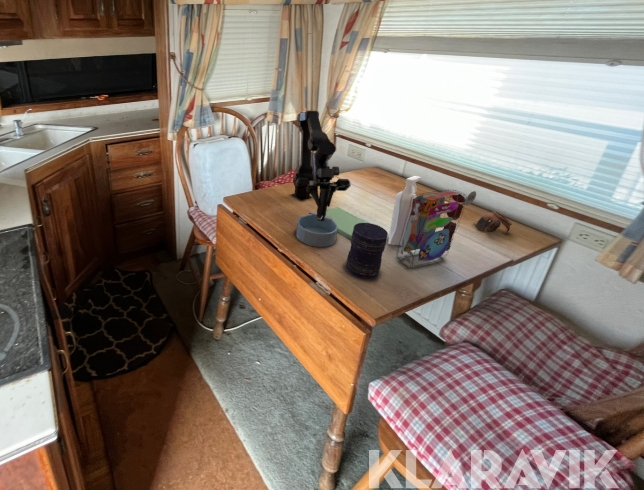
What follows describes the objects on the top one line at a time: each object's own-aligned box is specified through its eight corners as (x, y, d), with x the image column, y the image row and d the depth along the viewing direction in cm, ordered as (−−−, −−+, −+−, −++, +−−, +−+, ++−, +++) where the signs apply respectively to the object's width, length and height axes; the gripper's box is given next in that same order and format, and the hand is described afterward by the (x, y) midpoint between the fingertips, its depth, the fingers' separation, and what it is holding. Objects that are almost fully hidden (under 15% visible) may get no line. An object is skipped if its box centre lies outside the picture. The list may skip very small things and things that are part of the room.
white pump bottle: (378, 243, 130) (392, 180, 121) (394, 232, 137) (409, 172, 127) (396, 251, 125) (413, 187, 116) (413, 240, 132) (430, 178, 122)
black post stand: (303, 216, 134) (307, 185, 129) (319, 211, 138) (323, 180, 132) (322, 227, 127) (327, 194, 121) (338, 221, 130) (344, 189, 125)
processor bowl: (288, 232, 138) (289, 220, 135) (315, 223, 144) (316, 211, 142) (315, 251, 126) (317, 238, 124) (343, 240, 132) (346, 227, 130)
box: (449, 246, 128) (469, 184, 119) (466, 255, 123) (488, 191, 113) (394, 259, 121) (410, 194, 112) (409, 270, 116) (428, 203, 106)
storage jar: (355, 257, 123) (365, 211, 116) (384, 271, 115) (396, 223, 108) (339, 268, 117) (348, 220, 110) (368, 284, 110) (380, 234, 103)
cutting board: (313, 217, 148) (313, 214, 148) (336, 209, 154) (337, 206, 154) (353, 240, 132) (354, 237, 131) (378, 231, 138) (378, 227, 137)
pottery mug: (473, 221, 145) (490, 207, 141) (496, 238, 141) (514, 224, 137) (473, 227, 135) (492, 211, 132) (498, 245, 131) (518, 229, 128)
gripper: (299, 157, 128) (301, 198, 122) (353, 158, 126) (358, 200, 120) (293, 169, 138) (295, 208, 132) (343, 170, 136) (347, 209, 130)
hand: (323, 206), depth 128 cm, fingers closed on black post stand, 3 cm apart
